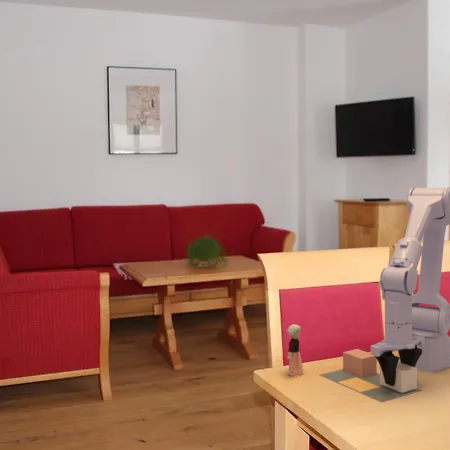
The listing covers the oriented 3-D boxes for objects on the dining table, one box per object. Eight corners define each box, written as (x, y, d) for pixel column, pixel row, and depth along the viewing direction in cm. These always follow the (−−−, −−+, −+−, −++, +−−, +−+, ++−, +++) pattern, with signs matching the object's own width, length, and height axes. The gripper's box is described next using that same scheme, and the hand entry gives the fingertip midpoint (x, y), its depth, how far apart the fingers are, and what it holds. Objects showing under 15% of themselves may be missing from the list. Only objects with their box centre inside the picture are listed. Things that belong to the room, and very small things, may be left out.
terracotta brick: (357, 366, 143) (357, 348, 143) (376, 374, 137) (376, 355, 137) (343, 370, 141) (342, 352, 140) (362, 378, 135) (361, 359, 135)
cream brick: (394, 379, 133) (394, 360, 132) (417, 388, 127) (417, 368, 127) (379, 384, 130) (379, 364, 130) (401, 392, 125) (402, 372, 124)
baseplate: (357, 368, 144) (357, 365, 144) (422, 393, 127) (422, 389, 127) (319, 378, 138) (319, 374, 138) (381, 406, 121) (381, 401, 121)
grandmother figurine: (302, 382, 135) (301, 328, 134) (285, 382, 136) (284, 328, 135) (304, 371, 143) (303, 320, 142) (288, 371, 144) (287, 320, 142)
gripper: (387, 330, 120) (387, 394, 122) (436, 320, 128) (435, 380, 129) (363, 323, 126) (363, 384, 128) (410, 313, 134) (410, 371, 135)
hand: (398, 382), depth 129 cm, fingers closed on cream brick, 5 cm apart
